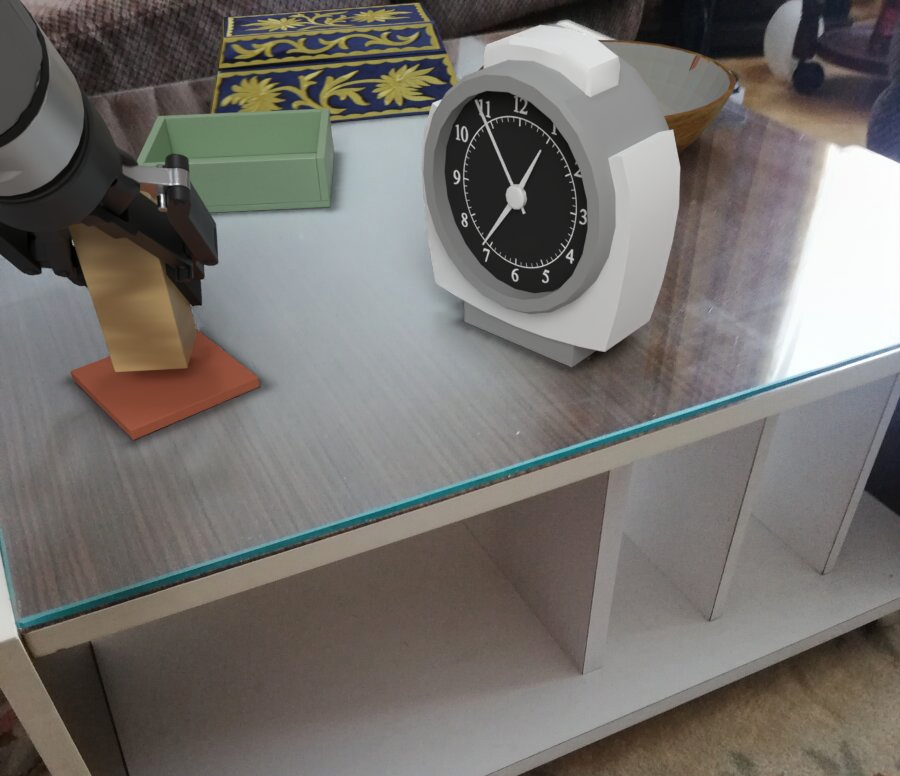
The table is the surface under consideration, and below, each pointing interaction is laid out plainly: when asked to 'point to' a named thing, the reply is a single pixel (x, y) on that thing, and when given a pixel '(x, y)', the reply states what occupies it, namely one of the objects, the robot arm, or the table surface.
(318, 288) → the table surface
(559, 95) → the alarm clock
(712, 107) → the bowl
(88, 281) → the block
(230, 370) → the mat
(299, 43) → the decorative box
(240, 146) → the bin
